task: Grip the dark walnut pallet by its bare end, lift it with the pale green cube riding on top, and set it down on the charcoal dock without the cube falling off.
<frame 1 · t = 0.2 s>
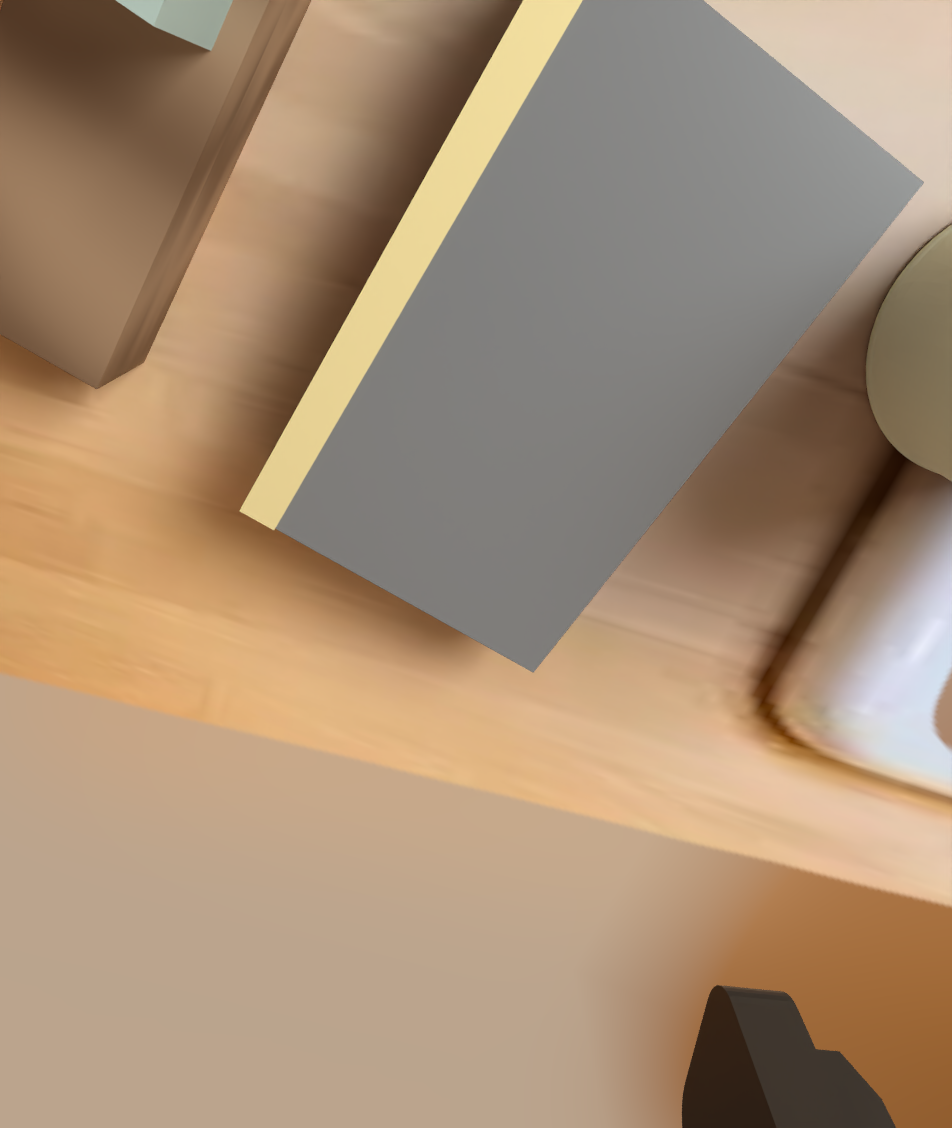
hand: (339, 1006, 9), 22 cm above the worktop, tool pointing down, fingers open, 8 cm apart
dock: (543, 334, 27), on the worktop
pallet: (166, 80, 25), on the worktop, touching pale green cube
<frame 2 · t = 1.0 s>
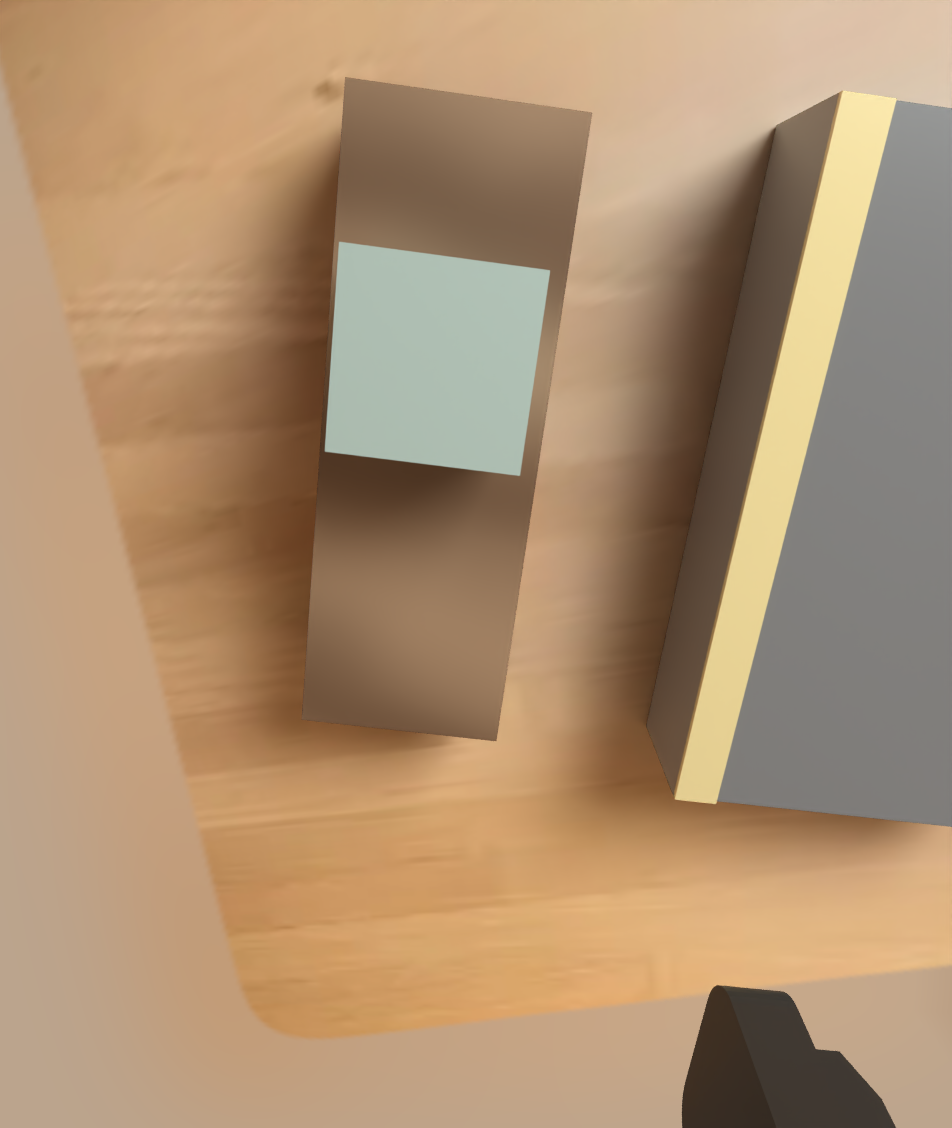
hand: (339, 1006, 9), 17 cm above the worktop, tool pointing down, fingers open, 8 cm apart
dock: (883, 483, 25), on the worktop
pale green cube: (441, 347, 20), point 4 cm above the worktop, touching pallet
pallet: (436, 425, 25), on the worktop, touching pale green cube
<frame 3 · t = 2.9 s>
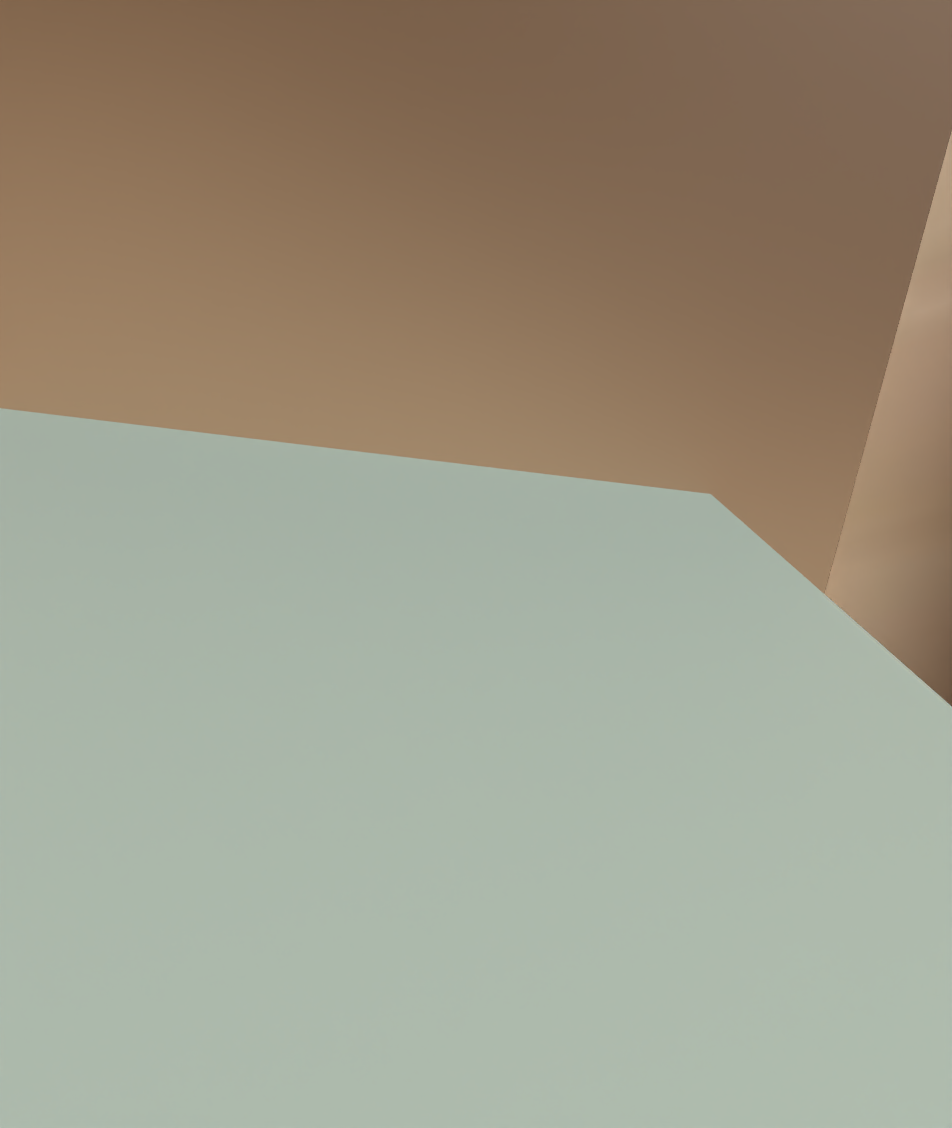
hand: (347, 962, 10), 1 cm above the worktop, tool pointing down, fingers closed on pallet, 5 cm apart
pale green cube: (329, 765, 5), point 4 cm above the worktop, touching pallet
pallet: (383, 665, 9), on the worktop, touching pale green cube, gripper
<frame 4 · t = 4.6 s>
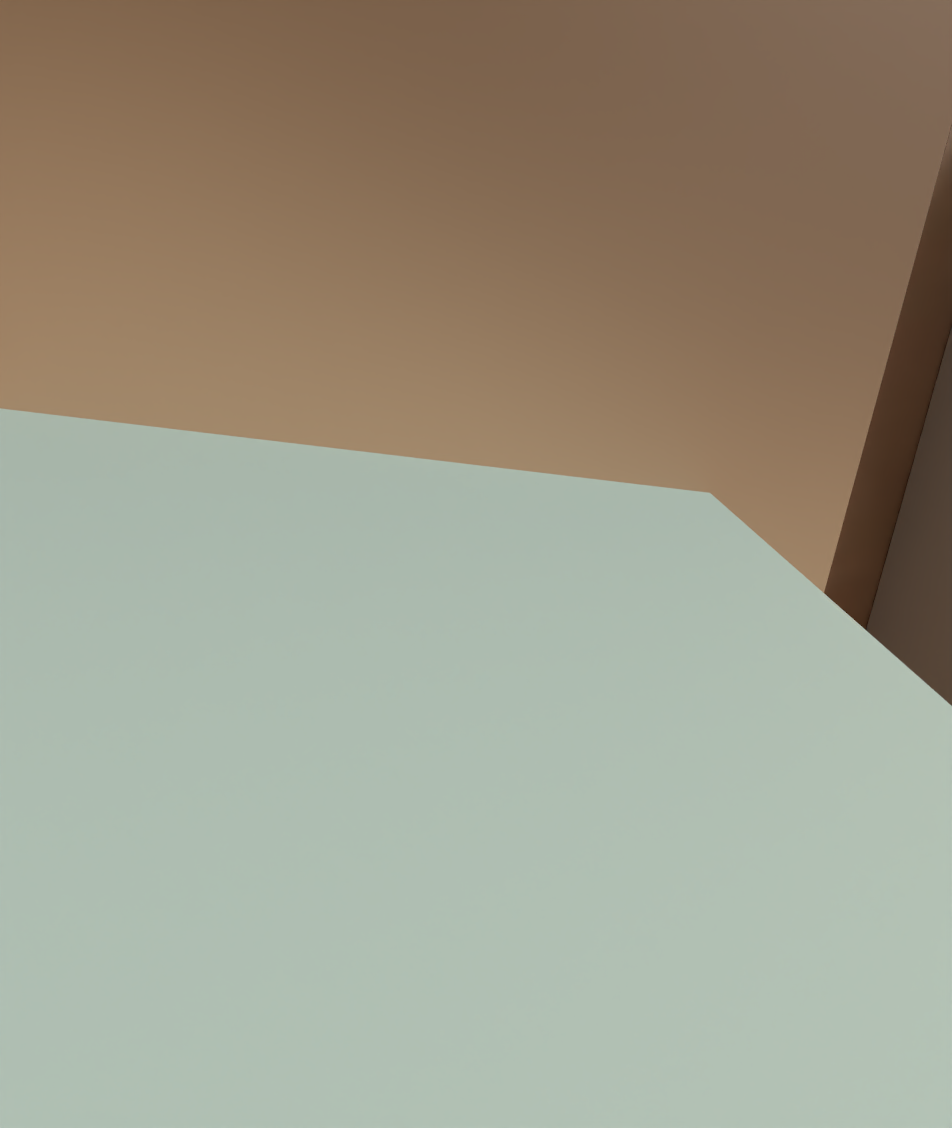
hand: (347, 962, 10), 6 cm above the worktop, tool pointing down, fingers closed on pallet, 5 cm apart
pale green cube: (328, 765, 5), point 9 cm above the worktop, touching pallet
pallet: (383, 665, 9), point 5 cm above the worktop, touching pale green cube, gripper
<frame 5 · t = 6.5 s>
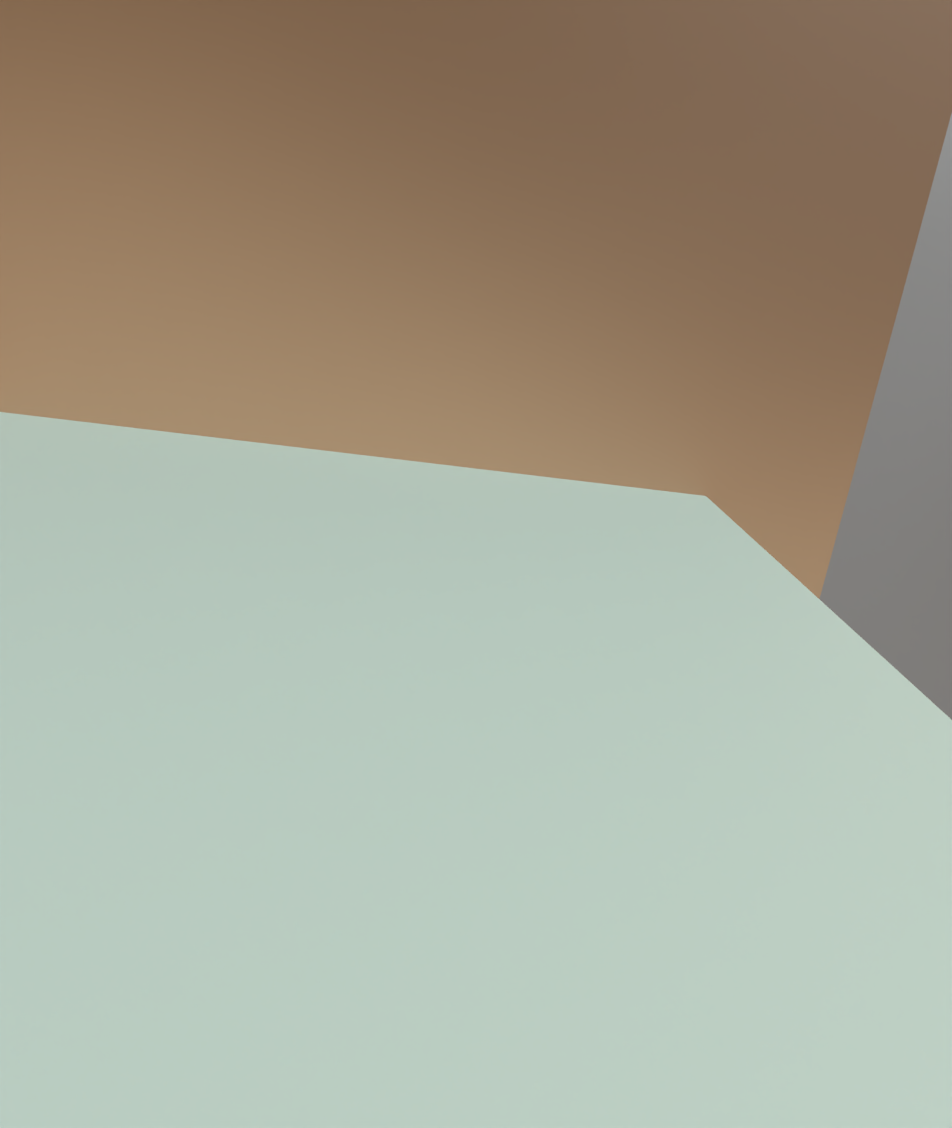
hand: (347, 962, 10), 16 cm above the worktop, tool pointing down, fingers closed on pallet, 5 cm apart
dock: (784, 466, 24), on the worktop
pale green cube: (324, 768, 5), point 19 cm above the worktop, touching pallet
pallet: (380, 666, 9), point 15 cm above the worktop, touching pale green cube, gripper
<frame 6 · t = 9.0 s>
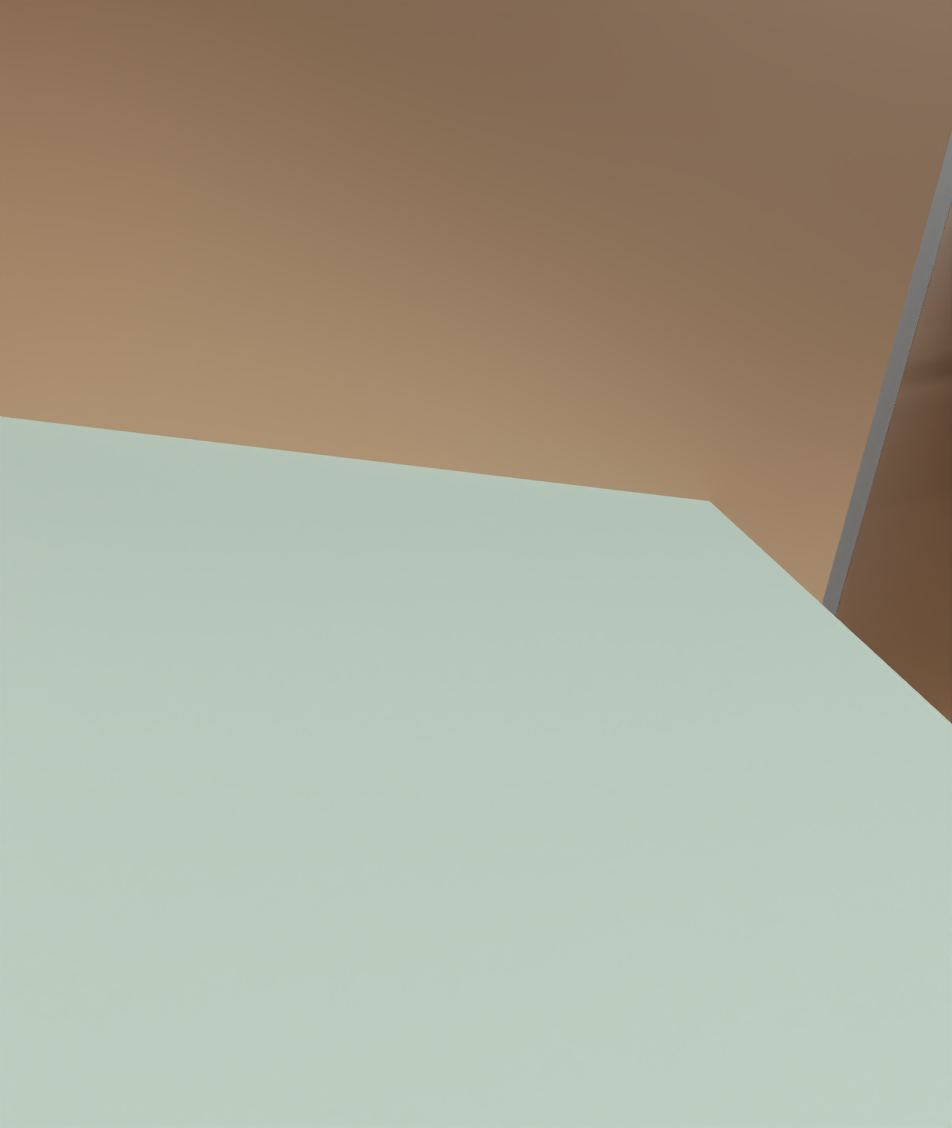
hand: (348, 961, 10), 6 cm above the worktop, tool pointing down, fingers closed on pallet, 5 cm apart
dock: (414, 531, 14), on the worktop
pale green cube: (329, 771, 5), point 9 cm above the worktop, touching pallet
pallet: (383, 668, 9), point 5 cm above the worktop, touching pale green cube, gripper
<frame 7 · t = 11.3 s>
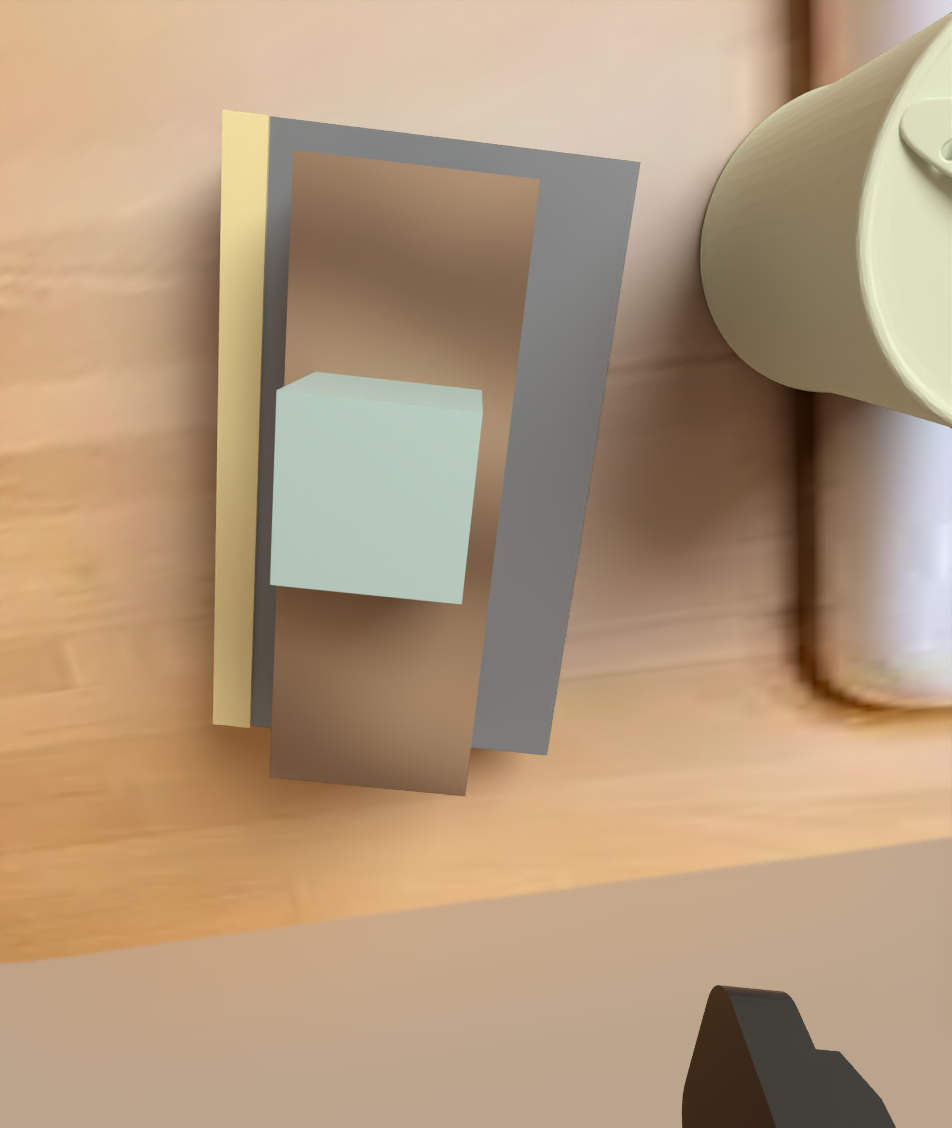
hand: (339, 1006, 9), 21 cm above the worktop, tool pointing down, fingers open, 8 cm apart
can: (841, 245, 27), on the worktop
dock: (414, 447, 28), on the worktop
pale green cube: (392, 463, 20), point 8 cm above the worktop, touching pallet
pallet: (403, 478, 25), point 4 cm above the worktop, touching pale green cube, dock
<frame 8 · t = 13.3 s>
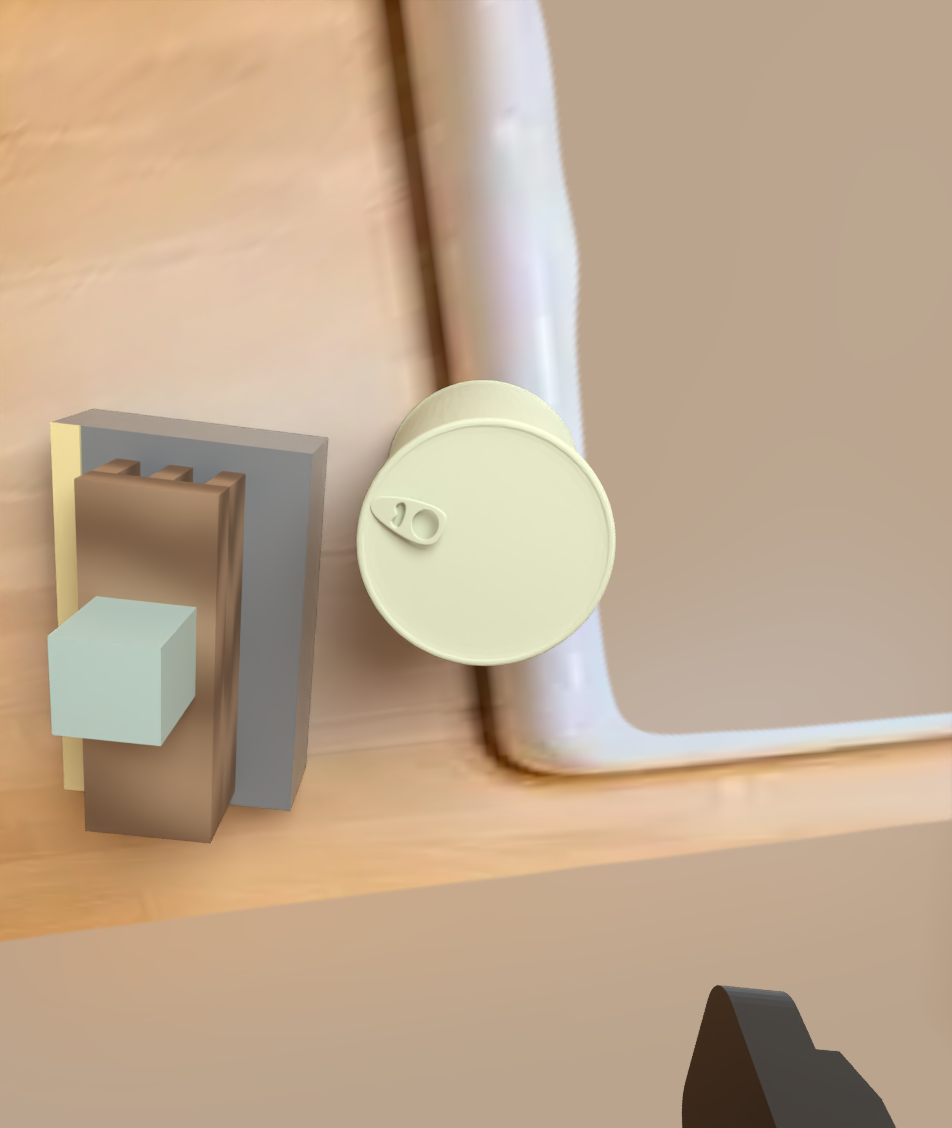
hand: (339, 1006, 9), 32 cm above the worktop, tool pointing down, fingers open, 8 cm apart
can: (482, 476, 40), on the worktop
dock: (207, 600, 42), on the worktop
pale green cube: (146, 647, 34), point 8 cm above the worktop, touching pallet
pallet: (179, 636, 38), point 4 cm above the worktop, touching pale green cube, dock
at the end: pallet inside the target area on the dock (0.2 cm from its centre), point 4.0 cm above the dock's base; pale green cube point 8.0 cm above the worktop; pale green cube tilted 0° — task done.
